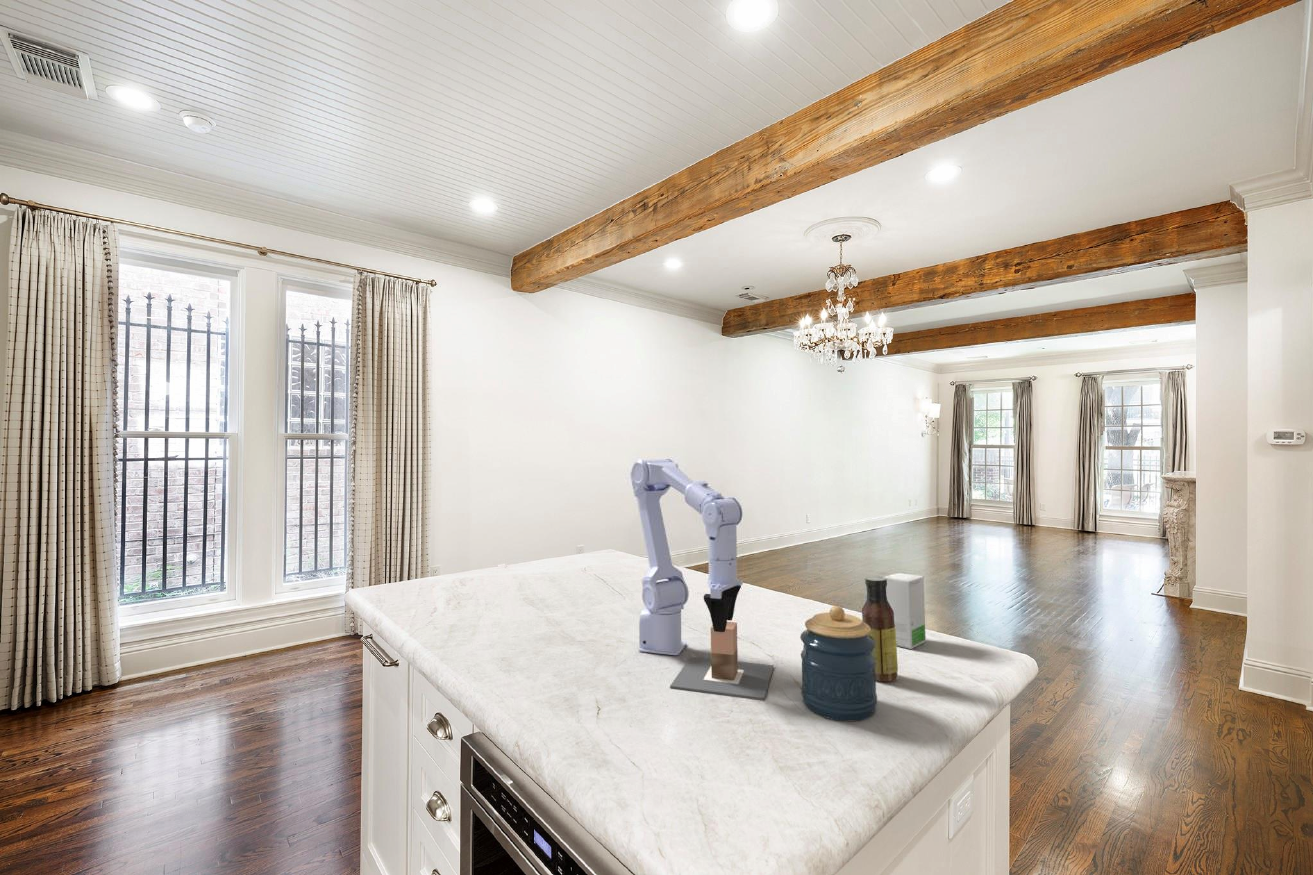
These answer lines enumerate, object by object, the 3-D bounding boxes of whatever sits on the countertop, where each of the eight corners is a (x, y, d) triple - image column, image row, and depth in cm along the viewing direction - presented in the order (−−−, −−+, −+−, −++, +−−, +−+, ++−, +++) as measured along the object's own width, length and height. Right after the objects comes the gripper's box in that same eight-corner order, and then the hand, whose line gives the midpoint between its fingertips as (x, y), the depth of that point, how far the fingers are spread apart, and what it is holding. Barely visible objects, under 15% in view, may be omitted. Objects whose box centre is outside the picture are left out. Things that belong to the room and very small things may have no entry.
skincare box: (911, 650, 125) (909, 581, 126) (882, 642, 130) (881, 576, 131) (926, 641, 131) (925, 575, 131) (899, 634, 136) (898, 571, 136)
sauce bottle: (896, 673, 113) (894, 575, 113) (899, 685, 107) (897, 582, 107) (862, 669, 115) (860, 573, 115) (863, 681, 109) (861, 580, 110)
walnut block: (711, 677, 110) (711, 652, 110) (716, 669, 115) (715, 644, 115) (734, 680, 109) (733, 654, 109) (737, 671, 113) (737, 647, 113)
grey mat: (670, 687, 107) (670, 685, 107) (690, 657, 122) (690, 655, 122) (764, 700, 101) (764, 697, 101) (773, 667, 117) (773, 664, 117)
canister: (869, 730, 90) (867, 621, 91) (791, 711, 97) (790, 610, 97) (883, 699, 101) (881, 602, 102) (813, 683, 108) (811, 593, 109)
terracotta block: (711, 652, 110) (710, 627, 110) (715, 644, 115) (715, 620, 115) (733, 654, 109) (733, 629, 109) (737, 647, 113) (736, 622, 113)
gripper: (735, 566, 104) (736, 639, 104) (747, 552, 118) (748, 616, 118) (699, 564, 106) (700, 635, 106) (715, 550, 120) (716, 613, 120)
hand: (723, 625), depth 112 cm, fingers open, 7 cm apart
